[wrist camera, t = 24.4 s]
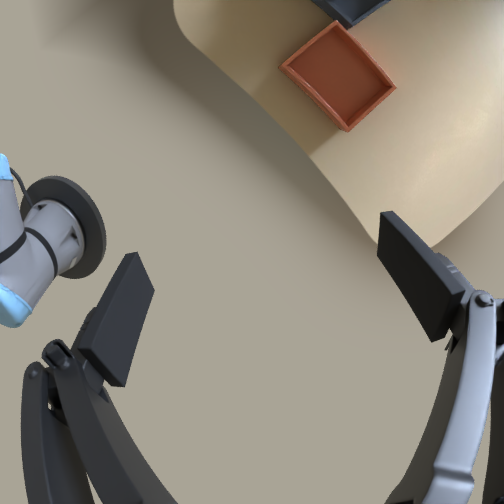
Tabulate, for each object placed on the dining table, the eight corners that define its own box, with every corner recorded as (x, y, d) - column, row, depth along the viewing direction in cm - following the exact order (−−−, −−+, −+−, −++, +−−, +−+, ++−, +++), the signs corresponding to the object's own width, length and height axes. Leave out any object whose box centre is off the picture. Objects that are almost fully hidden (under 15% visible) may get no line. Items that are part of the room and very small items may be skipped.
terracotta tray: (277, 67, 31) (280, 64, 28) (329, 25, 27) (336, 19, 24) (340, 129, 36) (348, 132, 34) (386, 87, 32) (397, 88, 29)
